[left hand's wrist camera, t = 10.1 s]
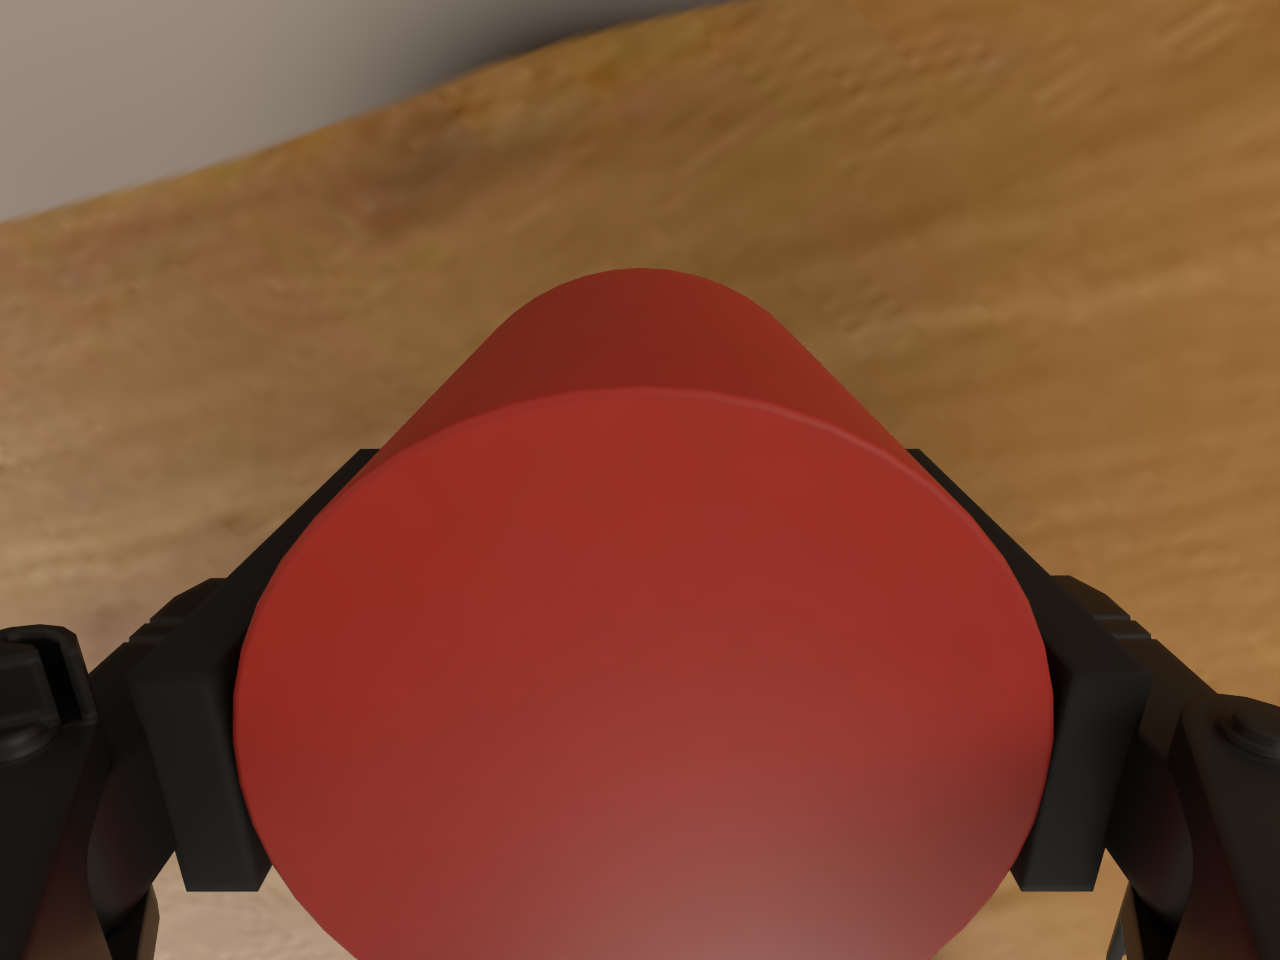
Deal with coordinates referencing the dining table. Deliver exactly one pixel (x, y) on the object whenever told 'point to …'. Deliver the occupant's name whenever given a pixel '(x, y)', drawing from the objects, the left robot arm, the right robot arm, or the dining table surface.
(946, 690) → the can
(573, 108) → the dining table surface
